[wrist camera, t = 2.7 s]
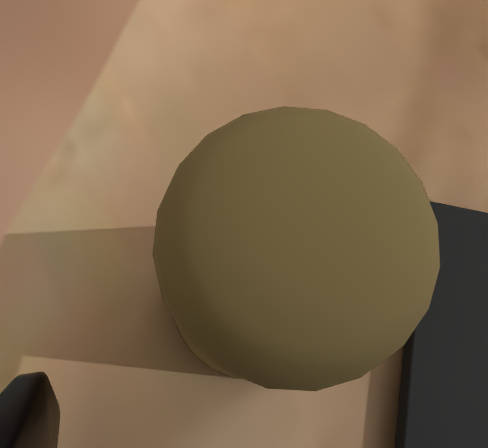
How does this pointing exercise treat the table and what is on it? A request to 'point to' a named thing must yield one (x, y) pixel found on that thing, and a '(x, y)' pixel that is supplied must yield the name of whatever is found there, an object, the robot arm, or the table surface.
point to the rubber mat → (450, 343)
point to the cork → (296, 249)
